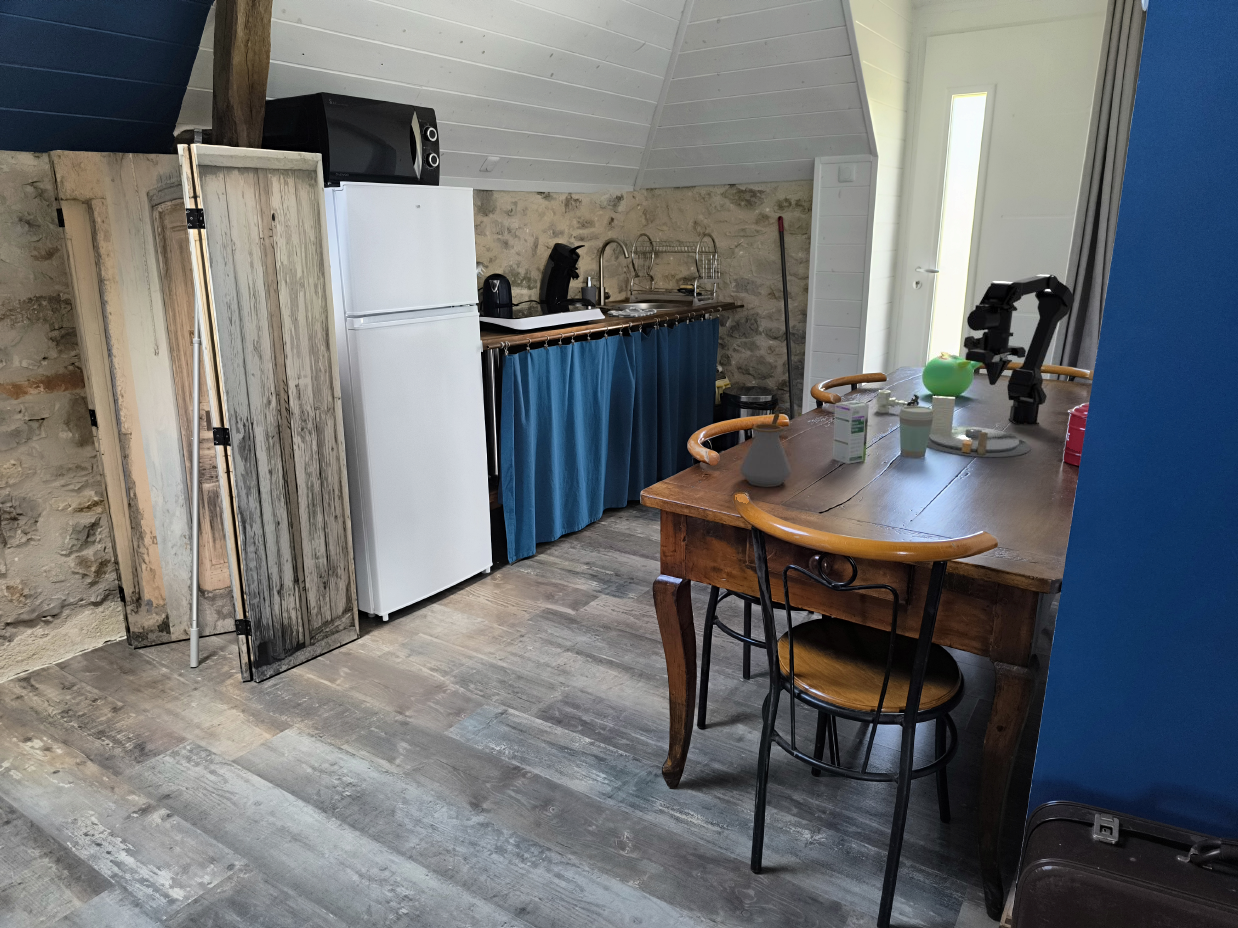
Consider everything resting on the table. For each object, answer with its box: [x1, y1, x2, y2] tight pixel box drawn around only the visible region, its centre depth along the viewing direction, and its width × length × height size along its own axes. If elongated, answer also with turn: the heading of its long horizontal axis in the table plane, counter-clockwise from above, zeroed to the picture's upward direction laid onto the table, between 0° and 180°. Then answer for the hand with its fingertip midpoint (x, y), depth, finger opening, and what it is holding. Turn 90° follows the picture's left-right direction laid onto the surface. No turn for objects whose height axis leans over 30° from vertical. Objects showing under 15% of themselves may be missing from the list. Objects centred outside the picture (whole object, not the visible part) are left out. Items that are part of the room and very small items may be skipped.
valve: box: [876, 389, 920, 414], centre depth 254 cm, size 7×7×12 cm
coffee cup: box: [897, 405, 934, 459], centre depth 207 cm, size 8×8×12 cm
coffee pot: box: [739, 404, 792, 488], centre depth 191 cm, size 21×12×15 cm, turn 159°
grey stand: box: [929, 395, 1020, 453], centre depth 217 cm, size 22×24×11 cm
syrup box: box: [832, 400, 870, 465], centre depth 203 cm, size 6×6×14 cm
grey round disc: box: [927, 438, 1031, 459], centre depth 219 cm, size 28×28×1 cm
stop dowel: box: [977, 432, 988, 456], centre depth 207 cm, size 2×2×6 cm
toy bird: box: [921, 351, 983, 397], centre depth 277 cm, size 18×17×15 cm
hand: (992, 384), depth 229 cm, fingers closed
